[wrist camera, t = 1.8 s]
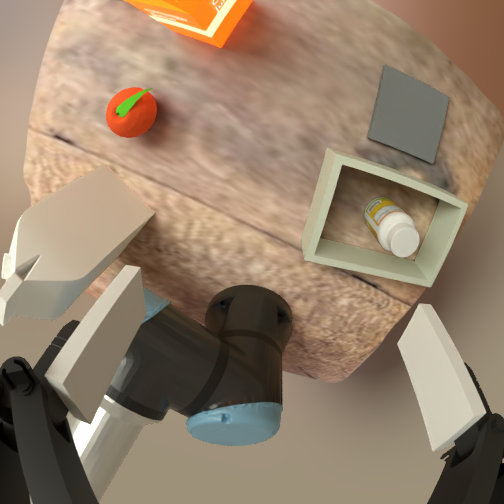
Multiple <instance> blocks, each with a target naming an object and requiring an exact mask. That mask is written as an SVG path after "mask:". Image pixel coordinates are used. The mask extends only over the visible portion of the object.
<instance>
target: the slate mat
mask: <svg viewBox="0 0 504 504" xmlns="http://www.w3.org/2000/svg"><path fill="white" fill-rule="evenodd" d="M448 102H449V96H447V95H445V94H443V93H442V92H440V91H438V90H436V89H435V88H433V87H431V86H429V85H427V84H425V83H423V82H421V81H419V80H417V79H415V78H413V77H411V76H409V75H407V74H405V73H403V72H401V71H398V70H396V69H394V68H391V67H389V66H387V65H384V66H383V70H382V75H381V80H380V85H379V89H378V94H377V98H376V102H375V107H374V111H373V115H372V119H371V123H370V127H369V131H368V135H367V138H370V139H373V140H376V141H378V142H381V143H384V144H386V145H389V146H392V147H394V148H397V149H399V150H402V151H404V152H407V153H409V154H411V155H414V156H416V157H418V158H421V159H423V160H425V161H427V162H430V163H432V164H433V162H434V159H435V156H436V152H437V149H438V145H439V141H440V137H441V133H442V129H443V125H444V121H445V116H446V112H447V107H448Z"/></svg>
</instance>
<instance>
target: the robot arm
mask: <svg viewBox="0 0 504 504" xmlns="http://www.w3.org/2000/svg"><path fill="white" fill-rule="evenodd" d="M205 326H206V328H205V327H204V326H202V325H201V324H199V323H198V322H196V321H195V320H193V319H192V318H190V317H189V316H187V315H186V314H184V313H183V312H181V311H180V310H178V309H177V308H175V307H174V306H173V305H171V304H170V301H169V300H165V299H163V298H162V297H160V296H158V295H157V294H155V293H154V292H152V291H151V290H149V289H148V288H146V287H143V283H142V274H141V267H136V266H130V265H125V267H124V268H123V269H122V270H121V271H120V273H119V274H118V275H117V276H116V277H115V279H114V280H113V281H112V282H111V284H110V285H109V286H108V287H107V289H106V290H105V291H104V292H103V294H102V295H101V296H100V297H99V299H98V300H97V301H96V303H95V304H94V305H93V307H92V308H91V309H90V311H89V312H88V313H87V314H86V316H85V317H84V318H83V320H82V321H81V322H79V321H76V320H72V321H71V322H69V323H68V324H66V325H65V326H64V327H63V328H62V329H61V330H60V332H59V333H58V335H57V337H55V338H54V340H53V341H52V343H51V345H49V347H48V348H47V349H46V351H45V352H44V354H43V355H42V357H41V358H40V360H39V361H38V362H37V364H36V366H35V367H34V369H33V370H32V368H31V366H30V365H29V363H28V362H27V361H26V360H25V359H24V358H22V357H12V358H9V359H8V360H6V361H5V362H4V363H3V365H2V366H1V368H0V504H99V501H100V500H101V498H102V496H103V495H104V493H105V491H106V490H107V488H108V486H109V484H110V483H111V481H112V479H113V478H114V476H115V474H116V472H117V471H118V469H119V467H120V466H121V464H122V462H123V461H124V459H125V457H126V456H127V454H128V452H129V450H130V449H131V447H132V445H133V443H134V442H135V440H136V439H137V437H138V435H139V433H140V432H141V430H142V428H143V427H144V426H145V425H147V424H153V423H159V422H161V421H162V420H163V418H164V416H165V415H166V413H167V411H168V410H169V409H172V410H174V411H176V412H178V413H180V414H182V415H184V416H186V417H188V420H187V421H186V425H187V430H188V432H189V433H190V434H191V435H192V436H193V437H195V438H197V439H199V440H202V441H205V442H208V443H212V444H218V445H227V446H242V445H251V444H256V443H259V442H263V441H266V440H268V439H270V438H271V437H273V436H274V435H275V434H276V433H277V431H278V430H279V427H280V420H281V412H282V410H283V407H282V354H283V351H284V349H285V347H286V345H287V342H288V340H289V338H290V336H291V332H292V313H291V310H290V308H289V306H288V304H287V303H286V302H285V301H284V299H283V298H281V297H280V296H279V295H278V294H276V293H275V292H273V291H271V290H269V289H266V288H263V287H259V286H254V285H239V286H234V287H230V288H227V289H225V290H223V291H221V292H220V293H218V294H217V295H216V296H215V297H214V298H213V299H212V300H211V302H210V304H209V306H208V309H207V313H206V317H205ZM398 347H399V349H400V351H401V354H402V357H403V360H404V362H405V365H406V368H407V370H408V373H409V376H410V379H411V382H412V384H413V387H414V390H415V393H416V396H417V399H418V403H419V406H420V409H421V412H422V415H423V419H424V422H425V425H426V429H427V433H428V436H429V440H430V443H431V447H432V451H436V450H440V449H443V448H446V447H447V446H448V445H450V444H451V443H452V442H453V441H454V442H455V446H454V447H453V448H451V449H450V450H449V451H447V452H446V453H445V454H443V455H442V457H441V458H440V459H443V458H445V457H446V456H447V455H449V457H448V458H446V459H445V461H446V464H445V467H444V469H443V472H442V474H441V476H440V478H439V481H438V483H437V485H436V487H435V489H434V491H433V493H432V495H431V498H430V499H429V501H428V503H427V504H504V463H502V459H503V458H504V418H503V417H502V416H501V415H499V414H497V413H494V414H492V412H491V411H490V408H489V406H488V404H487V401H486V399H485V397H484V394H483V392H482V390H481V388H479V386H480V385H479V383H478V381H476V377H475V375H474V373H473V371H472V370H471V369H470V367H469V366H468V365H467V364H466V363H464V362H463V361H462V359H461V357H460V355H459V353H458V351H457V349H456V347H455V345H454V343H453V342H452V340H451V338H450V336H449V334H448V333H447V331H446V329H445V327H444V326H443V324H442V322H441V321H440V319H439V317H438V316H437V314H436V312H435V311H434V309H433V307H432V306H431V304H419V305H418V307H417V309H416V311H415V313H414V315H413V317H412V319H411V320H410V322H409V324H408V326H407V328H406V330H405V331H404V333H403V335H402V337H401V339H400V341H399V342H398ZM68 411H70V413H71V414H70V416H69V418H68V419H67V418H66V415H67V413H68Z"/></svg>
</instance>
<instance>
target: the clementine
mask: <svg viewBox="0 0 504 504" xmlns="http://www.w3.org/2000/svg"><path fill="white" fill-rule="evenodd" d="M150 89H152V88H150ZM150 89H146V90H143V89H141V88H135V87H133V88H128V89H124V90H122V91H120V92H119V93H117V94H116V95H115V96H114V97H113V98H112V99H111V101H110V102H109V104H108V107H107V111H106V120H107V124H108V126H109V128H110V129H111V130H112V131H113V132H114V133H115V134H117V135H119V136H121V137H126V138H132V137H137V136H139V135H141V134H143V133H145V132H146V131H147V130H149V129H150V127H151V126H152V125H153V123H154V121H155V119H156V114H157V105H156V102H155V99H154V98H153V96H152V95H151V94H150V93H149V92H148V91H149V90H150Z"/></svg>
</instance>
